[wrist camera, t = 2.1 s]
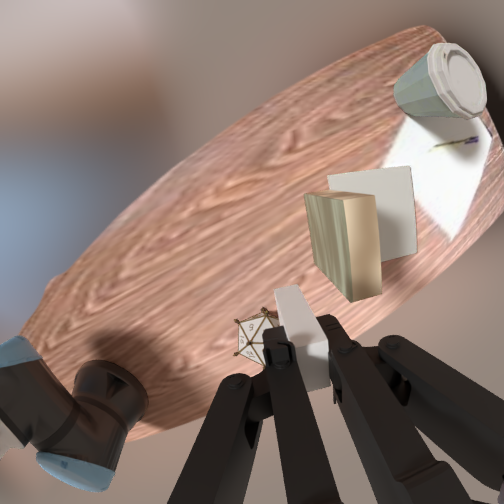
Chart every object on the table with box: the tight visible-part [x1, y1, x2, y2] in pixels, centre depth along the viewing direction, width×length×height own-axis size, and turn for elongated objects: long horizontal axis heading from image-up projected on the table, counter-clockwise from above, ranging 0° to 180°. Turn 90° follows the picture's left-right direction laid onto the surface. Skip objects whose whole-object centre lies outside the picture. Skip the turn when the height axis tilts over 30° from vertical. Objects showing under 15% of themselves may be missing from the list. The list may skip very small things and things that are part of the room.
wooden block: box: [304, 190, 382, 303], centre depth 31 cm, size 4×10×14 cm, turn 11°
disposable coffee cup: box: [394, 43, 487, 120], centre depth 27 cm, size 11×11×15 cm
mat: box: [327, 166, 417, 262], centre depth 38 cm, size 14×14×1 cm
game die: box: [233, 307, 280, 370], centre depth 38 cm, size 9×8×10 cm
